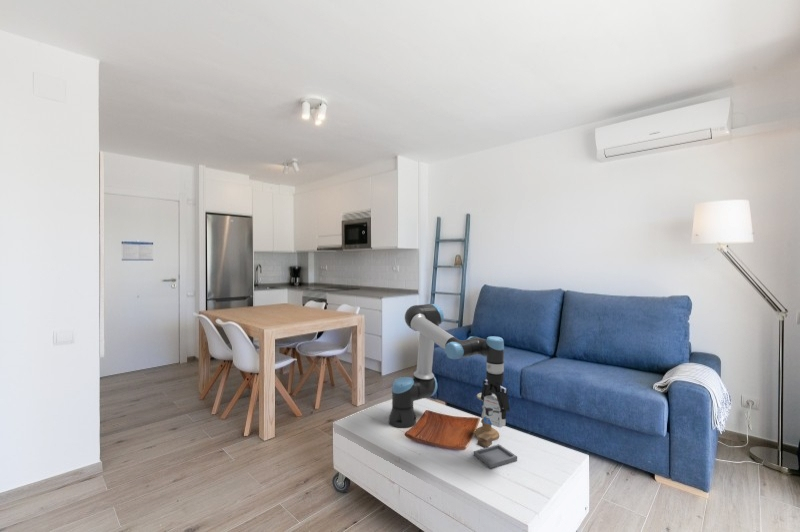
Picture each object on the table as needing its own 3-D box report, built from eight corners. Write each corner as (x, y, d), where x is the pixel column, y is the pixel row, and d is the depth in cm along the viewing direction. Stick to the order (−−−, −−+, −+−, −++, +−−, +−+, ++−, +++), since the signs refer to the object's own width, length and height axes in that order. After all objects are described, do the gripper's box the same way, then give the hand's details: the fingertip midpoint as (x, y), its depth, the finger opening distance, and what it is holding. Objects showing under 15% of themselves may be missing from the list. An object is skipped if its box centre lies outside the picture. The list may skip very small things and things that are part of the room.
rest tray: (473, 455, 170) (473, 451, 170) (498, 448, 177) (498, 444, 177) (490, 469, 159) (490, 464, 159) (517, 460, 166) (517, 456, 166)
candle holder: (501, 432, 192) (502, 394, 192) (496, 443, 182) (496, 402, 181) (478, 427, 198) (478, 390, 198) (471, 437, 187) (472, 397, 187)
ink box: (483, 422, 168) (483, 396, 168) (488, 419, 172) (489, 393, 172) (500, 428, 163) (500, 401, 162) (505, 424, 166) (506, 398, 166)
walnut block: (477, 444, 180) (477, 436, 180) (482, 440, 184) (482, 432, 184) (486, 448, 177) (486, 440, 177) (491, 444, 181) (492, 436, 181)
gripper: (473, 366, 175) (472, 413, 176) (505, 380, 155) (505, 433, 156) (485, 364, 178) (485, 410, 179) (519, 377, 159) (518, 429, 159)
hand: (494, 421), depth 167 cm, fingers closed on ink box, 9 cm apart
